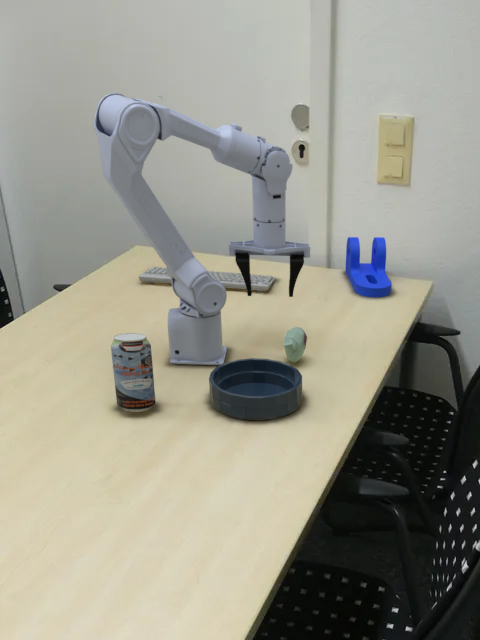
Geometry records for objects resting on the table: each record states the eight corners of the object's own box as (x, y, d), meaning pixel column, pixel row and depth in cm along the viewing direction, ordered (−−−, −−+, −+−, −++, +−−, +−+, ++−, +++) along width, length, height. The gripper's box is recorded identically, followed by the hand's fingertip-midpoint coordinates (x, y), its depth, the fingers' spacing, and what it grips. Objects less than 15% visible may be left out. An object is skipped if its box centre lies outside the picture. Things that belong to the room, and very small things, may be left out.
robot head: (288, 352, 147) (288, 318, 143) (310, 355, 147) (310, 320, 143) (280, 370, 141) (279, 334, 137) (302, 372, 141) (302, 336, 137)
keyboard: (275, 279, 181) (275, 270, 180) (268, 294, 173) (268, 285, 172) (152, 269, 182) (151, 261, 181) (139, 284, 173) (138, 275, 172)
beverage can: (118, 419, 123) (107, 347, 116) (117, 398, 128) (107, 328, 121) (158, 416, 124) (151, 344, 117) (156, 395, 130) (148, 326, 123)
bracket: (345, 271, 188) (347, 233, 183) (378, 271, 190) (381, 233, 185) (357, 297, 174) (360, 256, 169) (393, 297, 176) (397, 256, 170)
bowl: (205, 419, 124) (203, 395, 122) (216, 379, 136) (214, 356, 134) (300, 422, 125) (300, 399, 123) (302, 382, 137) (303, 360, 135)
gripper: (227, 223, 133) (230, 301, 141) (311, 226, 135) (310, 302, 143) (228, 212, 139) (231, 288, 147) (309, 215, 141) (308, 289, 149)
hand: (270, 294), depth 145 cm, fingers open, 7 cm apart
